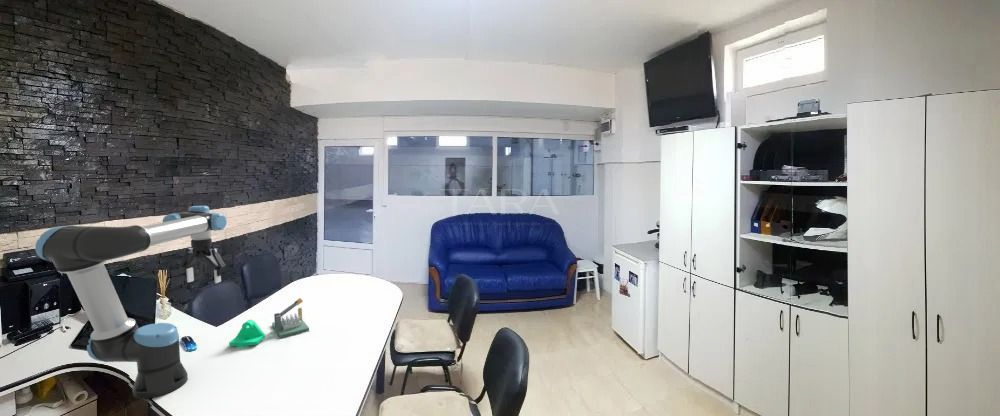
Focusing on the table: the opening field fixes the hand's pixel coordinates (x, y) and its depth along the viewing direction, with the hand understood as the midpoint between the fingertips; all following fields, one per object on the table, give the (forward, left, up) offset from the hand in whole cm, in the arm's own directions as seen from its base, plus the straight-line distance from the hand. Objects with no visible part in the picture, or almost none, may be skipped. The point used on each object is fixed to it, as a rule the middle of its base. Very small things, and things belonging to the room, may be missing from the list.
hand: (204, 282), depth 169 cm
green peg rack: (-13, -33, -28) cm, 45 cm away
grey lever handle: (-13, -33, -18) cm, 40 cm away
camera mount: (-18, -13, -29) cm, 36 cm away
